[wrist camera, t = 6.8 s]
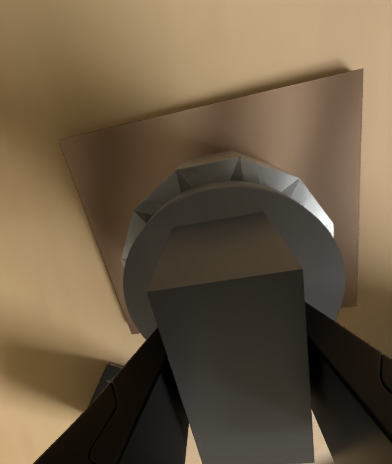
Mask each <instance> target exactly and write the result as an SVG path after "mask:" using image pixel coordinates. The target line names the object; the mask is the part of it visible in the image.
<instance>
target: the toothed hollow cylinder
mask: <svg viewBox="0 0 392 464" xmlns="http://www.w3.org/2000/svg"><path fill="white" fill-rule="evenodd" d="M221 181H245V182H253V183H258V184H261V185H265V186H269V187H271V188H274V189H276V190H278V191H281V192H283V193H285V194H286V195H288V196H289V197H291V198H293V199H294V200H296V201H297V202H298V203H300V204H301V205H302V206H304V207H305V208H306V209H307V210H309V211H310V212H311V213H312V214H313V215H315V216H316V217H317V218H318V219H319V220H320V221H321V222H322V223H323V224H324V225H325V227H326V228H327V229H328V230H329V232H330V233H331V235H332V236H333V238H334V224H333V223H332V221H331V220H330V219H329V217H328V216H327V215H326V213H325V212H324V210H323V209H322V208H321V206H320V205H319V204H318V202H317V201H316V200H315V198H314V197H313V196H312V194H311V193H310V192H309V190H308V189H307V187H306V186H305V185H304V183H303V182H302V181H301V179H300V178H299V177H297V176H295V175H293V174H291V173H288V172H286V171H284V170H282V169H280V168H278V167H276V166H274V165H272V164H269V163H266V162H263V161H261V160H258V159H255V158H252V157H249V156H247V155H244V154H241V153H238V152H235V151H233V150H226V151H222V152H217V153H212V154H207V155H202V156H198V157H193V158H188V159H185V160H184V161H183V162H182V163H181V164H180V165H179V166H178V167H177V168H176V169H175V170H174V171H173V172H172V173H171V174H170V175H168V176H167V177H166V178H165V179H164V180H163V181H162V182H161V183H160V184H159V185H158V186H157V187H156V188H154V189H153V190H152V191H151V192H150V193H149V194H148V195H147V196H146V197H145V198H144V199H143V200H142V201H141V202H140V203H139V204H138V205H137V206H136V207H135V208H134V209H133V213H132V217H131V221H130V225H129V229H128V233H127V238H126V242H125V246H124V250H123V254H122V258H121V261H122V263H123V266H124V267H125V262H126V259H127V256H128V253H129V251H130V249H131V247H132V245H133V243H134V241H135V239H136V238H137V236H138V235H139V233H140V232H141V231H142V229H143V228H144V226H145V225H146V224H147V222H148V221H149V219H150V218H151V217H152V216H153V215H154V214H155V213H156V212H157V211H158V210H159V209H160V207H162V206H163V205H164V204H166V203H167V202H168V201H169V200H171V199H172V198H174V197H176V196H177V195H179V194H181V193H183V192H185V191H187V190H190V189H192V188H194V187H197V186H201V185H204V184H208V183H213V182H221Z"/></svg>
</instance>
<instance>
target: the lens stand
mask: <svg viewBox="0 0 392 464" xmlns="http://www.w3.org/2000/svg"><path fill="white" fill-rule="evenodd" d="M362 97H363V69H358V70H354V71H350V72H345V73H341V74H337V75H333V76H328V77H324V78H320V79H316V80H311V81H307V82H303V83H299V84H294V85H290V86H286V87H282V88H277V89H273V90H269V91H264V92H260V93H256V94H252V95H247V96H243V97H239V98H235V99H230V100H226V101H222V102H218V103H213V104H209V105H205V106H201V107H196V108H192V109H188V110H183V111H179V112H175V113H171V114H166V115H162V116H158V117H154V118H149V119H145V120H141V121H137V122H132V123H128V124H124V125H120V126H115V127H111V128H107V129H103V130H98V131H94V132H90V133H85V134H81V135H77V136H73V137H68V138H64V139H60V140H58V141H59V144H60V146H61V149H62V151H63V154H64V157H65V159H66V162H67V165H68V167H69V170H70V173H71V175H72V178H73V180H74V183H75V186H76V188H77V191H78V194H79V196H80V199H81V202H82V204H83V207H84V209H85V212H86V215H87V217H88V220H89V223H90V225H91V228H92V231H93V233H94V236H95V238H96V241H97V244H98V246H99V249H100V252H101V254H102V257H103V260H104V262H105V265H106V267H107V270H108V273H109V275H110V278H111V281H112V283H113V286H114V289H115V291H116V294H117V296H118V299H119V302H120V304H121V307H122V310H123V312H124V315H125V318H126V320H127V323H128V325H129V328H130V331H131V333H132V334H138V333H140V332H139V331H138V329H137V327H136V326H135V324H134V323H133V321H132V319H131V317H130V314H129V312H128V310H127V306H126V303H125V299H124V292H123V273H124V266H123V263H122V261H121V258H122V254H123V250H124V246H125V242H126V238H127V233H128V229H129V225H130V221H131V217H132V213H133V209H134V208H135V207H136V206H137V205H138V204H139V203H140V202H141V201H142V200H143V199H144V198H145V197H146V196H147V195H148V194H149V193H150V192H151V191H152V190H153V189H154V188H156V187H157V186H158V185H159V184H160V183H161V182H162V181H163V180H164V179H165V178H166V177H167V176H168V175H170V174H171V173H172V172H173V171H174V170H175V169H176V168H177V167H178V166H179V165H180V164H181V163H182V162H183V161H184V160H185V159H188V158H193V157H198V156H202V155H207V154H212V153H217V152H222V151H226V150H233V151H235V152H238V153H241V154H244V155H247V156H249V157H252V158H255V159H258V160H261V161H263V162H266V163H269V164H272V165H274V166H276V167H278V168H280V169H282V170H284V171H286V172H288V173H291V174H293V175H295V176H297V177H299V178H300V179H301V181H302V182H303V183H304V185H305V186H306V187H307V189H308V190H309V192H310V193H311V194H312V196H313V197H314V198H315V200H316V201H317V202H318V204H319V205H320V206H321V208H322V209H323V210H324V212H325V213H326V215H327V216H328V217H329V219H330V220H331V221H332V223H333V224H334V239H335V241H336V243H337V245H338V248H339V250H340V252H341V255H342V259H343V263H344V267H345V291H344V296H343V300H342V304H341V307H340V308H342V307H350V306H356V297H357V263H358V230H359V197H360V164H361V130H362Z"/></svg>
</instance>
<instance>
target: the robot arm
mask: <svg viewBox="0 0 392 464" xmlns="http://www.w3.org/2000/svg"><path fill="white" fill-rule="evenodd" d="M305 312H306V329H307V345H308V362H309V379H310V396H311V409H312V411H313V413H314V416H315V418H316V420H317V423H318V425H319V427H320V430H321V432H322V434H323V437H324V439H325V441H326V444H327V446H328V448H329V451H330V453H331V455H332V458H333V460H334V462H335V464H392V359H391V358H389V357H388V356H386V355H385V354H382V353H381V352H380V351H379V350H377V349H376V348H374V347H373V346H371V345H370V344H368V343H367V342H365V341H364V340H362V339H361V338H359V337H358V336H356V335H355V334H353V333H352V332H350V331H349V330H347V329H346V328H344V327H343V326H341V325H340V324H338V323H337V322H335V321H334V320H332V319H331V318H329V317H328V316H326V315H325V314H323V313H322V312H320V311H319V310H317V309H316V308H314V307H313V306H311V305H310V304H308V303H307V302H305ZM188 427H189V421H188V418H187V415H186V412H185V409H184V406H183V402H182V399H181V396H180V393H179V390H178V387H177V384H176V381H175V378H174V375H173V372H172V369H171V366H170V363H169V360H168V357H167V353H166V350H165V347H164V344H163V341H162V338H161V335H160V332H159V329H158V327H157V328H156V329H155V331H154V332H153V333H152V334H151V335H150V336H149V338H148V339H147V340H146V341H145V342H144V343H143V345H142V346H141V347H140V348H139V349H138V350H137V352H136V353H135V354H134V355H133V356H132V357H131V359H130V360H129V361H128V362H127V363H126V364H125V366H124V367H123V368H122V369H121V370H120V371H119V373H118V374H117V375H116V376H115V377H114V378H113V380H112V383H111V382H110V383H109V384H108V385H107V386H106V388H105V389H104V390H103V391H102V392H101V393H100V394H99V396H98V397H97V398H96V399H95V400H94V401H93V402H92V403H91V405H90V406H89V407H88V408H87V409H86V410H85V411H84V412H83V413H82V414H81V415H80V416H79V417H78V418H77V420H76V421H75V422H74V423H73V424H72V425H71V426H70V427H69V428H68V429H67V430H66V431H65V432H64V433H63V434H62V435H61V436H60V437H59V438H58V439H57V440H56V441H55V442H54V443H53V444H52V445H51V446H50V447H49V448H48V449H47V450H46V451H45V452H44V453H43V454H42V455H41V456H40V457H39V458H38V459H37V460H36V461H35V462H34V463H33V464H185V457H186V447H187V437H188Z"/></svg>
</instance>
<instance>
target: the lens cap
mask: <svg viewBox="0 0 392 464" xmlns="http://www.w3.org/2000/svg"><path fill="white" fill-rule="evenodd" d="M344 291H345V267H344V263H343V259H342V255H341V252H340V250H339V248H338V245H337V243H336V241H335V239H334V238H333V236H332V235H331V233H330V232H329V230H328V229H327V228H326V227H325V225H324V224H323V223H322V222H321V221H320V220H319V219H318V218H317V217H316V216H315V215H313V214H312V213H311V212H310V211H309V210H307V209H306V208H305V207H304V206H302V205H301V204H300V203H298V202H297V201H296V200H294V199H293V198H291V197H289V196H288V195H286V194H285V193H283V192H281V191H278V190H276V189H274V188H271V187H269V186H265V185H261V184H258V183H253V182H245V181H221V182H213V183H208V184H204V185H201V186H197V187H194V188H192V189H190V190H187V191H185V192H183V193H181V194H179V195H177V196H176V197H174V198H172V199H171V200H169V201H168V202H167V203H166V204H164V205H163V206H162V207H160V209H159V210H158V211H157V212H156V213H155V214H154V215H153V216H152V217H151V218H150V219H149V221H148V222H147V224H146V225H145V226H144V228H143V229H142V231H141V232H140V233H139V235H138V236H137V238H136V239H135V241H134V243H133V245H132V247H131V249H130V251H129V253H128V256H127V259H126V262H125V267H124V273H123V292H124V299H125V303H126V306H127V310H128V312H129V314H130V317H131V319H132V321H133V323H134V324H135V326H136V327H137V329H138V331H139V332H140V333H141V334H142V336H143V337H144V338H145V339H146V340H147V339H148V338H149V336H150V335H151V334H152V333H153V332H154V331H155V329H156V328H157V327H158V329H159V332H160V335H161V338H162V341H163V344H164V347H165V350H166V353H167V357H168V360H169V363H170V366H171V369H172V372H173V375H174V378H175V381H176V384H177V387H178V390H179V393H180V396H181V399H182V402H183V406H184V409H185V412H186V415H187V418H188V421H189V424H190V427H191V430H192V433H193V436H194V439H195V442H196V445H197V448H198V451H199V454H200V458H201V461H202V464H300V463H314V446H313V429H312V413H311V396H310V379H309V362H308V345H307V329H306V312H305V302H307V303H308V304H310V305H311V306H313V307H314V308H316V309H317V310H319V311H320V312H322V313H323V314H325V315H326V316H328V317H329V318H331V319H332V320H335V318H336V317H337V314H338V312H339V309H340V307H341V304H342V300H343V296H344Z"/></svg>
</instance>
